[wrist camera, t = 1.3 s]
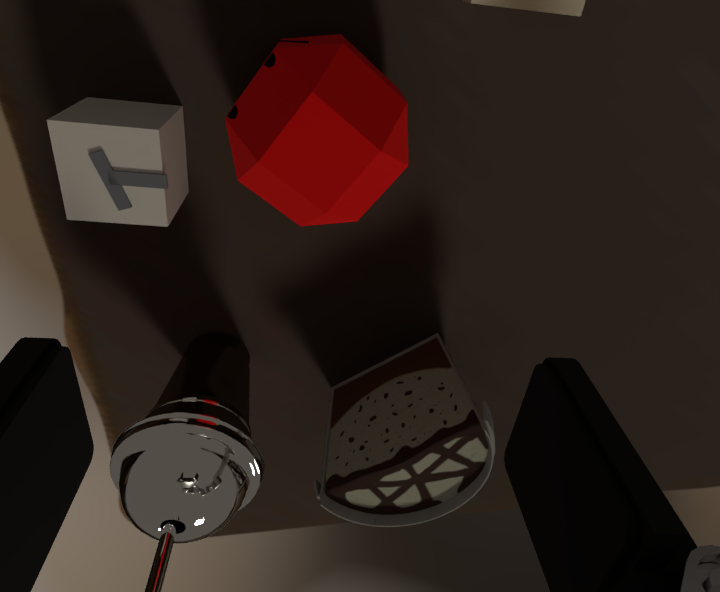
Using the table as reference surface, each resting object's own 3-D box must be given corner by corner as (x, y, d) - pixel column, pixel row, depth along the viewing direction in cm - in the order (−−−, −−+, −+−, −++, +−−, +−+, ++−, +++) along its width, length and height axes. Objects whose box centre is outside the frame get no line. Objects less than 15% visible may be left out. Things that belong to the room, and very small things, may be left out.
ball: (308, -1, 26) (303, 10, 20) (420, 105, 30) (447, 145, 23) (220, 123, 29) (191, 167, 23) (330, 207, 33) (332, 268, 26)
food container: (356, 440, 44) (364, 554, 35) (315, 395, 41) (312, 508, 32) (490, 376, 41) (534, 484, 32) (456, 323, 38) (494, 426, 29)
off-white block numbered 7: (186, 106, 29) (162, 131, 25) (192, 192, 32) (171, 228, 27) (87, 96, 28) (45, 120, 24) (102, 184, 31) (65, 220, 27)
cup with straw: (295, 333, 37) (271, 635, 21) (251, 417, 42) (201, 726, 25) (176, 292, 35) (41, 596, 18) (142, 385, 39) (6, 704, 22)
